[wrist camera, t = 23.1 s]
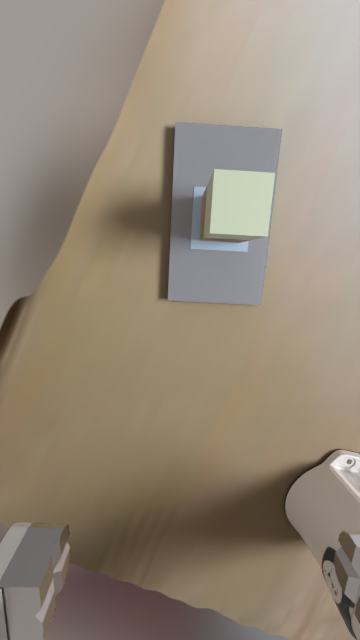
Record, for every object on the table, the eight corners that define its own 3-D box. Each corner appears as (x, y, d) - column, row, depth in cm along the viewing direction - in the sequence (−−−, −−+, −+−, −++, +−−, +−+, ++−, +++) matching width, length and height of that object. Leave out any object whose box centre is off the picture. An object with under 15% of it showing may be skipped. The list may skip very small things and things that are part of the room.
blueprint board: (278, 134, 32) (282, 128, 31) (258, 303, 36) (261, 305, 35) (175, 127, 31) (175, 121, 30) (167, 299, 36) (167, 300, 35)
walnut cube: (244, 198, 32) (257, 188, 27) (240, 242, 33) (251, 240, 28) (202, 196, 32) (207, 184, 27) (199, 240, 33) (203, 237, 28)
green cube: (257, 188, 27) (275, 172, 22) (251, 240, 28) (267, 236, 23) (207, 185, 27) (214, 168, 22) (203, 237, 28) (209, 233, 23)
